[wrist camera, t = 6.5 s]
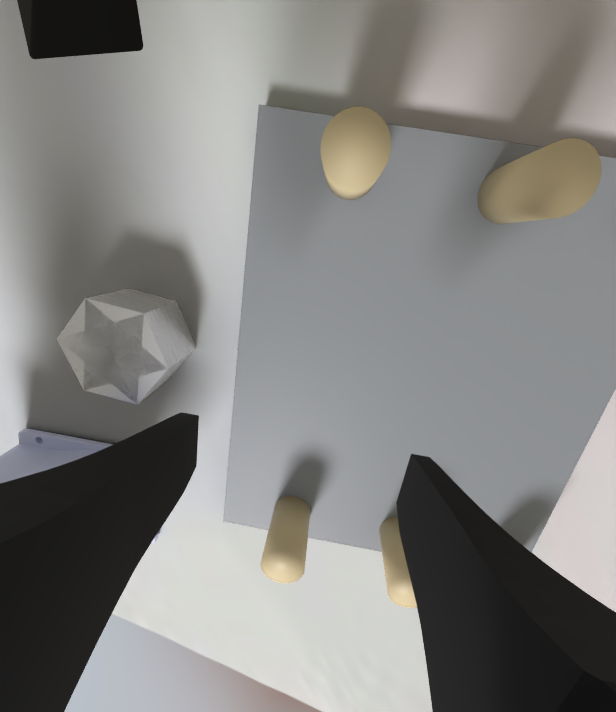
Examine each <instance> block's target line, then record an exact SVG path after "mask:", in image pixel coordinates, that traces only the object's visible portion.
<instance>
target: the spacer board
mask: <svg viewBox="0 0 616 712" xmlns="http://www.w3.org/2000/svg"><path fill="white" fill-rule="evenodd" d="M615 389H616V158H612V157H605V156H599V154H598V152H597V151H596V149H595V148H594V147H593V146H592V145H591V144H590V143H588V142H586V141H584V140H581V139H577V138H567V139H562V140H559V141H556V142H554V143H552V144H550V145H547V146H545V147H538V146H532V145H525V144H518V143H512V142H505V141H498V140H492V139H485V138H478V137H472V136H465V135H458V134H452V133H445V132H438V131H432V130H425V129H418V128H412V127H405V126H398V125H392V124H386V123H385V121H384V120H383V118H382V117H381V116H380V115H379V114H378V113H376V112H375V111H373V110H372V109H369V108H366V107H360V106H356V107H350V108H347V109H344V110H342V111H341V112H339V113H338V114H336V115H335V116H332V115H325V114H318V113H312V112H305V111H298V110H291V109H285V108H278V107H271V106H265V105H259V109H258V121H257V133H256V144H255V156H254V168H253V180H252V191H251V203H250V215H249V226H248V238H247V250H246V261H245V273H244V285H243V297H242V308H241V320H240V332H239V343H238V355H237V367H236V378H235V390H234V402H233V414H232V425H231V437H230V449H229V460H228V472H227V484H226V496H225V507H224V519H223V521H224V522H229V523H234V524H240V525H245V526H250V527H255V528H260V529H266V530H269V531H268V535H267V539H266V544H265V548H264V552H263V556H262V560H261V569H262V571H263V573H264V574H265V575H266V576H267V577H268V578H269V579H271V580H273V581H276V582H279V583H291V582H295V581H297V580H298V579H300V578H301V577H302V575H303V574H304V568H305V559H306V549H307V540H308V538H313V539H318V540H323V541H328V542H334V543H339V544H344V545H349V546H354V547H360V548H365V549H370V550H375V551H381V552H382V554H383V562H384V569H385V576H386V583H387V590H388V596H389V598H390V599H391V600H392V601H393V602H394V603H395V604H397V605H399V606H402V607H407V608H416V607H417V604H416V600H415V596H414V591H413V587H412V583H411V579H410V575H409V571H408V567H407V563H406V558H405V554H404V550H403V546H402V541H401V537H400V532H399V524H398V515H397V505H396V502H397V499H398V495H399V492H400V489H401V485H402V482H403V479H404V476H405V472H406V469H407V466H408V462H409V459H410V456H411V454H416V455H421V456H427V457H430V458H431V459H432V460H433V461H434V462H436V463H437V464H438V465H439V466H440V467H441V468H442V469H443V471H444V472H445V473H446V474H447V475H448V476H449V477H450V478H451V479H452V480H453V481H454V482H455V483H456V484H457V485H458V486H459V487H460V488H461V489H462V490H463V491H464V492H465V493H466V494H467V495H468V496H469V497H470V498H471V499H472V500H473V501H474V502H475V503H476V504H477V505H478V506H479V507H480V508H481V509H482V510H483V511H484V512H485V513H486V514H487V515H488V516H490V517H491V518H492V519H493V520H494V521H495V522H496V523H497V524H498V525H499V526H501V527H502V528H503V529H504V530H505V531H506V532H507V533H508V534H510V535H511V536H512V537H513V538H514V539H515V540H517V541H518V542H519V543H520V544H522V545H523V546H524V547H525V548H526V549H528V550H529V551H530V552H532V550H533V548H534V546H535V544H536V542H537V540H538V538H539V537H540V535H541V533H542V531H543V529H544V527H545V525H546V523H547V521H548V519H549V517H550V515H551V513H552V511H553V509H554V507H555V505H556V503H557V501H558V500H559V498H560V496H561V494H562V492H563V490H564V488H565V486H566V484H567V482H568V480H569V478H570V476H571V474H572V472H573V470H574V468H575V466H576V464H577V463H578V461H579V459H580V457H581V455H582V453H583V451H584V449H585V447H586V445H587V443H588V441H589V439H590V437H591V435H592V433H593V431H594V429H595V428H596V426H597V424H598V422H599V420H600V418H601V416H602V414H603V412H604V410H605V408H606V406H607V404H608V402H609V400H610V398H611V396H612V394H613V392H614V391H615Z"/></svg>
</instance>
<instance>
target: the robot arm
mask: <svg viewBox="0 0 616 712" xmlns="http://www.w3.org/2000/svg"><path fill="white" fill-rule="evenodd" d="M198 420H199V416H198V415H192V414H187V413H179V414H176V415H174V416H172V417H170V418H168V419H166V420H164V421H162V422H160V423H158V424H156V425H154V426H152V427H150V428H148V429H146V430H144V431H142V432H140V433H137V434H135V435H133V436H131V437H129V438H127V439H125V440H123V441H120V442H118V443H116V444H108V443H103V442H98V441H92V440H87V439H81V438H76V437H71V436H65V435H60V434H55V433H49V432H44V431H38V430H33V429H24V430H22V431H21V432H19V435H18V437H19V443H20V444H19V445H17V446H15V447H14V448H12V449H11V450H9V451H8V452H6V453H4V454H3V455H1V456H0V712H64V711H65V709H66V706H67V704H68V702H69V700H70V698H71V695H72V693H73V691H74V689H75V687H76V685H77V683H78V681H79V679H80V677H81V675H82V673H83V670H84V668H85V666H86V664H87V662H88V660H89V658H90V656H91V654H92V652H93V649H94V648H95V645H96V643H97V641H98V639H99V637H100V636H101V633H102V632H103V629H104V628H105V626H106V623H107V622H108V620H109V617H110V616H111V614H112V612H113V610H114V608H115V606H116V604H117V602H118V600H119V598H120V596H121V594H122V592H123V591H124V589H125V587H126V585H127V583H128V581H129V579H130V577H131V575H132V573H133V572H134V570H135V568H136V566H137V565H138V563H139V561H140V560H141V558H142V556H143V555H144V553H145V552H146V550H147V548H148V547H149V545H150V544H153V543H155V541H156V540H157V538H158V532H159V530H160V528H161V527H162V525H163V524H164V522H165V521H166V519H167V518H168V516H169V515H170V513H171V511H172V510H173V508H174V507H175V505H176V504H177V502H178V501H179V499H180V497H181V496H182V494H183V493H184V491H185V489H186V487H187V484H188V482H189V480H190V478H191V476H192V474H193V472H194V470H195V468H196V461H197V440H198ZM396 505H397V515H398V524H399V532H400V537H401V541H402V546H403V550H404V554H405V558H406V563H407V567H408V571H409V575H410V579H411V583H412V587H413V591H414V596H415V600H416V604H417V608H418V613H419V618H420V623H421V629H422V636H423V642H424V649H425V656H426V663H427V670H428V678H429V685H430V693H431V701H432V709H433V712H616V612H614V611H612V610H611V609H609V608H608V607H606V606H605V605H603V604H602V603H600V602H599V601H597V600H596V599H594V598H593V597H591V596H590V595H588V594H587V593H585V592H584V591H583V590H581V589H580V588H578V587H577V586H576V585H574V584H573V583H571V582H570V581H569V580H567V579H566V578H564V577H563V576H562V575H560V574H559V573H557V572H556V571H555V570H553V569H552V568H551V567H549V566H548V565H547V564H545V563H544V562H543V561H541V560H540V559H539V558H538V557H536V556H535V555H534V554H533V553H531V552H530V551H529V550H528V549H526V548H525V547H524V546H523V545H522V544H520V543H519V542H518V541H517V540H515V539H514V538H513V537H512V536H511V535H510V534H508V533H507V532H506V531H505V530H504V529H503V528H502V527H501V526H499V525H498V524H497V523H496V522H495V521H494V520H493V519H492V518H491V517H490V516H488V515H487V514H486V513H485V512H484V511H483V510H482V509H481V508H480V507H479V506H478V505H477V504H476V503H475V502H474V501H473V500H472V499H471V498H470V497H469V496H468V495H467V494H466V493H465V492H464V491H463V490H462V489H461V488H460V487H459V486H458V485H457V484H456V483H455V482H454V481H453V480H452V479H451V478H450V477H449V476H448V475H447V474H446V473H445V472H444V471H443V469H442V468H441V467H440V466H439V465H438V464H437V463H436V462H434V461H433V460H432V459H431V458H430V457H427V456H421V455H416V454H411V456H410V459H409V462H408V466H407V469H406V472H405V476H404V479H403V482H402V485H401V489H400V492H399V495H398V499H397V502H396Z"/></svg>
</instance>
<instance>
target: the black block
mask: <svg viewBox="0 0 616 712" xmlns="http://www.w3.org/2000/svg"><path fill="white" fill-rule="evenodd" d="M17 1H18V6H19V10H20V14H21V19H22V23H23V28H24V32H25V37H26V41H27V45H28V50H29V54H30V56H31V58H33V59H42V58H54V57H67V56H79V55H91V54H104V53H116V52H129V51H140V50H142V48H143V41H142V34H141V28H140V21H139V14H138V8H137V1H136V0H17Z"/></svg>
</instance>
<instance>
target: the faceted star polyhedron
mask: <svg viewBox="0 0 616 712" xmlns="http://www.w3.org/2000/svg"><path fill="white" fill-rule="evenodd" d="M57 341H58V343H59V345H60V347H61V349H62V350H63V352H64V354H65V356H66V358H67V360H68V362H69V364H70V366H71V367H72V369H73V371H74V373H75V375H76V377H77V379H78V381H79V382H80V384H81V386H82V388H83V390H84V391H88V392H92V393H95V394H99V395H103V396H107V397H110V398H114V399H118V400H122V401H126V402H129V403H133V404H138V403H139V402H141V401H142V400H143V399H144V398H146V397H147V396H148V395H149V394H151V393H152V392H153V391H154V390H155V389H157V388H158V387H159V386H160V385H162V384H163V383H164V382H165V381H167V380H168V379H169V378H170V377H171V376H172V374H173V373H174V372H175V371H176V370H177V369H178V368H179V367H180V365H181V364H182V363H183V362H184V361H185V360H186V359H187V358H188V356H189V355H190V354H191V353H192V352H193V351H194V350H195V349H196V346H195V344H194V342H193V339H192V337H191V334H190V332H189V329H188V327H187V324H186V322H185V319H184V317H183V314H182V312H181V309H180V307H179V304H178V302H177V301H175V300H171V299H167V298H163V297H160V296H156V295H152V294H148V293H144V292H141V291H137V290H133V289H129V288H127V289H123V290H118V291H114V292H109V293H105V294H100V295H96V296H92V297H87V298H85V299H84V300H83V302H82V303H81V305H80V306H79V307H78V309H77V310H76V312H75V313H74V315H73V316H72V317H71V319H70V320H69V322H68V323H67V325H66V326H65V328H64V329H63V330H62V332H61V333H60V335H59V336H58V338H57Z"/></svg>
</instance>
